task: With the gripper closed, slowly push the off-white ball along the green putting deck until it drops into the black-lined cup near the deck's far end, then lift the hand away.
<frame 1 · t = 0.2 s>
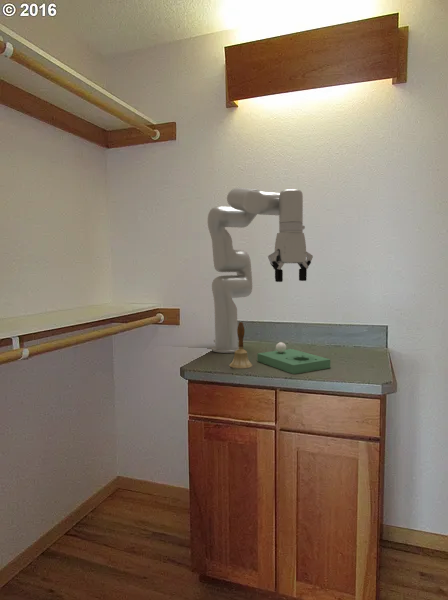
hand: (291, 281, 143), 31 cm above the counter, tool pointing down, fingers open, 9 cm apart
deck: (292, 364, 158), on the counter
hand bell: (240, 366, 157), on the counter
ball: (280, 347, 163), point 5 cm above the counter, touching deck
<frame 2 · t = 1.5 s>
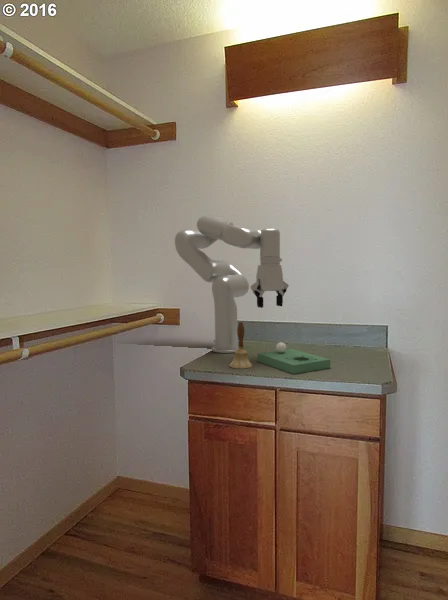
hand: (269, 306, 168), 20 cm above the counter, tool pointing down, fingers open, 8 cm apart
nothing on the counter moved.
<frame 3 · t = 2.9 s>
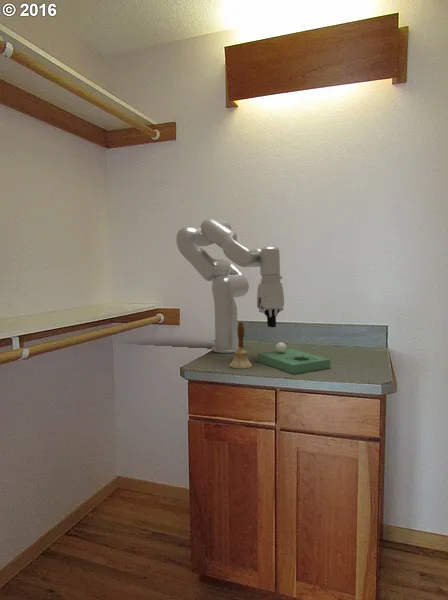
hand: (271, 326, 168), 12 cm above the counter, tool pointing down, fingers closed
nothing on the counter moved.
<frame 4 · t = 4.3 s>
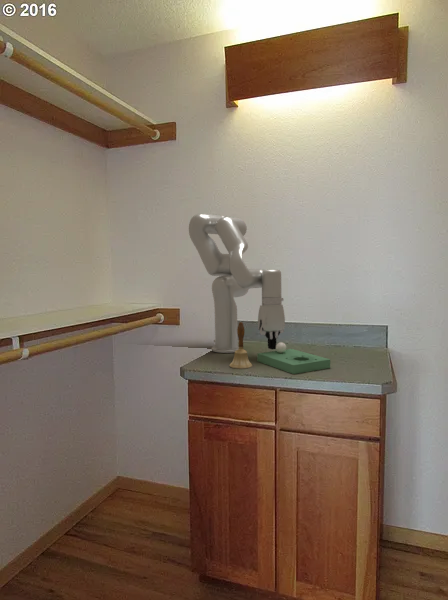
hand: (272, 348, 169), 4 cm above the counter, tool pointing down, fingers closed
nothing on the counter moved.
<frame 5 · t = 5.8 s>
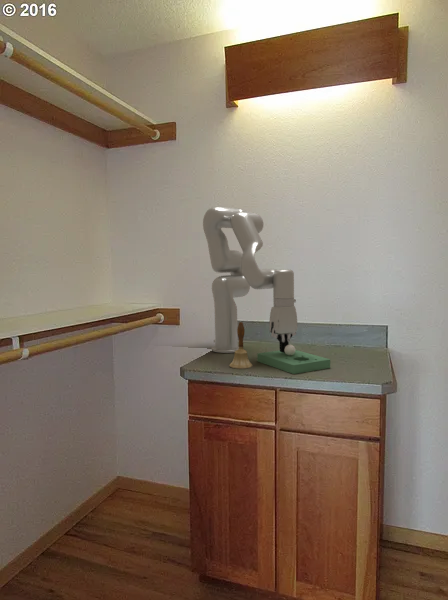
hand: (284, 351, 162), 4 cm above the counter, tool pointing down, fingers closed
ball: (289, 350, 159), point 5 cm above the counter, tilted 153°, touching deck
everything else where it was.
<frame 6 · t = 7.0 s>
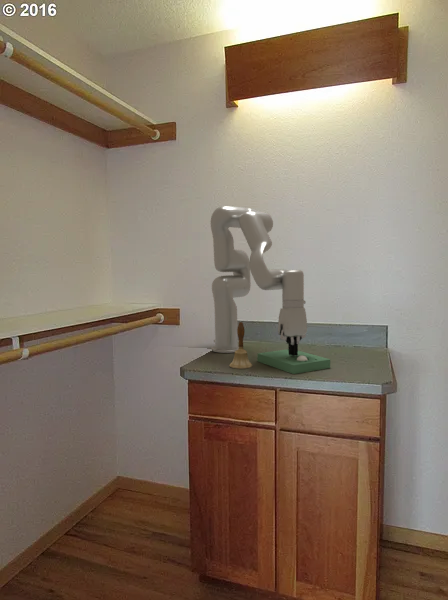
hand: (293, 354, 157), 4 cm above the counter, tool pointing down, fingers closed
ball: (302, 361, 153), point 2 cm above the counter, tilted 23°, touching deck
everything else where it was.
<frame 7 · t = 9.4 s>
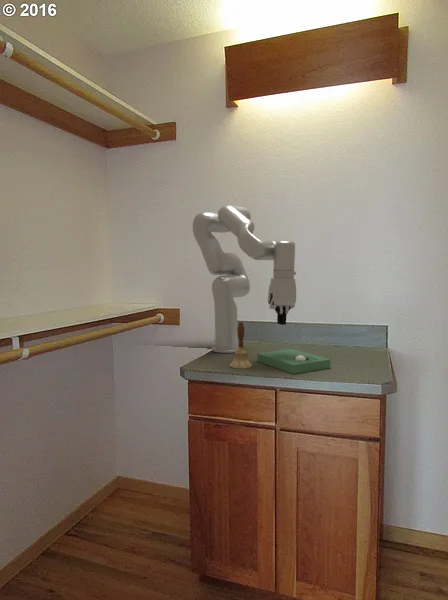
hand: (281, 324, 162), 14 cm above the counter, tool pointing down, fingers closed
ball: (300, 360, 153), point 2 cm above the counter, tilted 10°, touching deck
everything else where it was.
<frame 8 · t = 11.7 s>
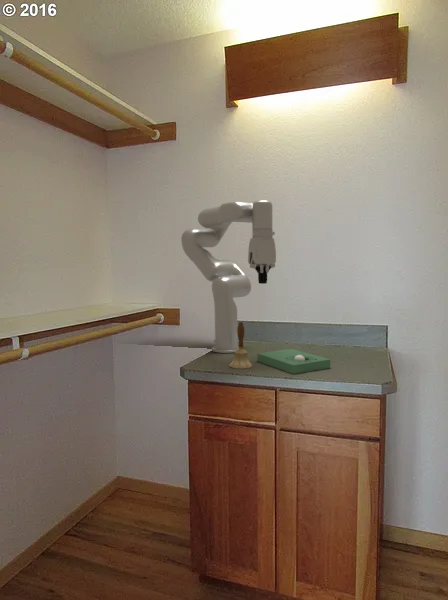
hand: (262, 283, 165), 29 cm above the counter, tool pointing down, fingers closed
ball: (299, 360, 154), point 2 cm above the counter, tilted 20°, touching deck
everything else where it was.
at the end: ball 0.7 cm from the target spot on the deck, point 2.3 cm above the deck's base; hand bell moved 0.3 cm from its start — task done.
